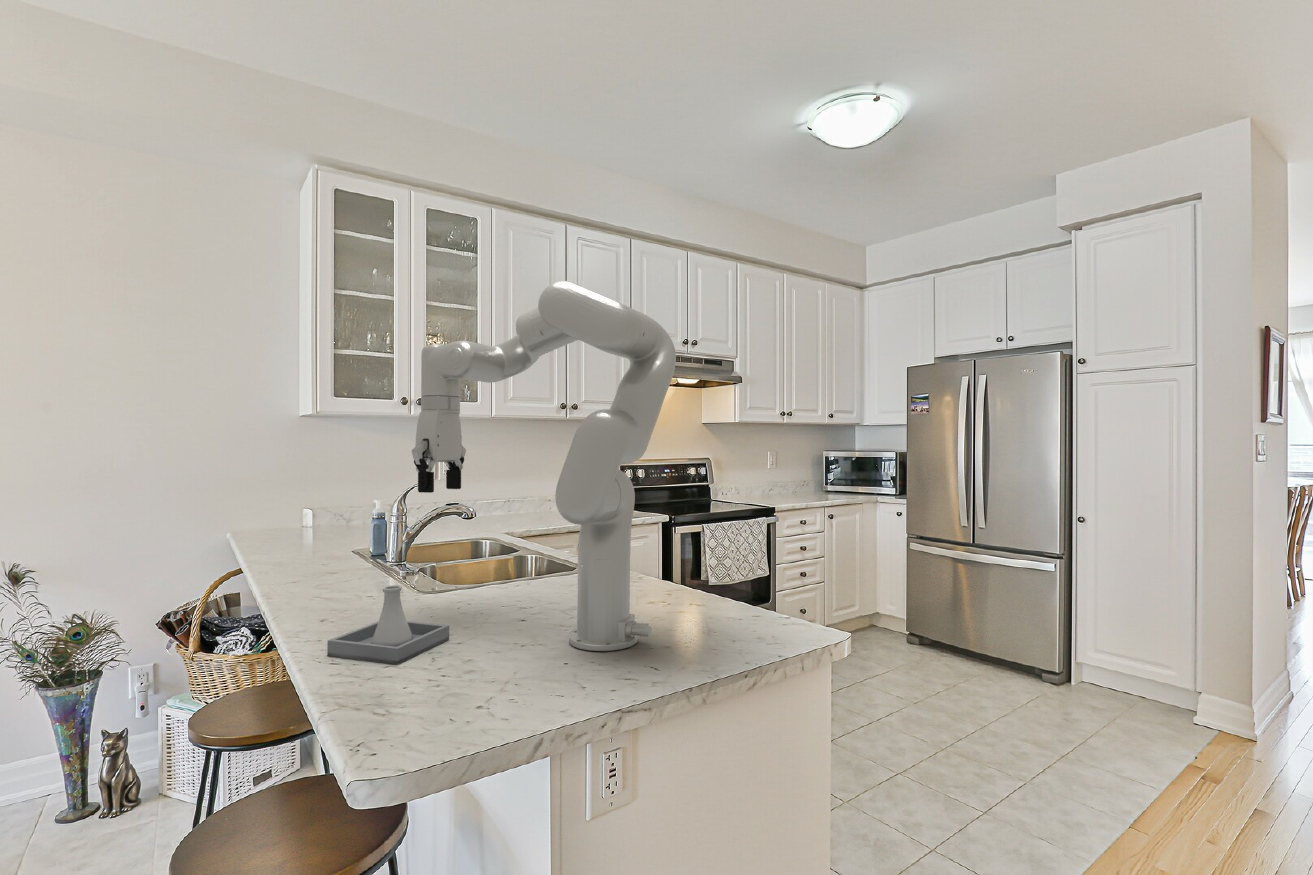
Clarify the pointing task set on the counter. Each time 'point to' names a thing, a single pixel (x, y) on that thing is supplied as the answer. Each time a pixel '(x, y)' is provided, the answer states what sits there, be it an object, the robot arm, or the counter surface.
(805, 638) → the counter surface
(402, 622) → the flask
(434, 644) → the tray
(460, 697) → the counter surface
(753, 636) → the counter surface
